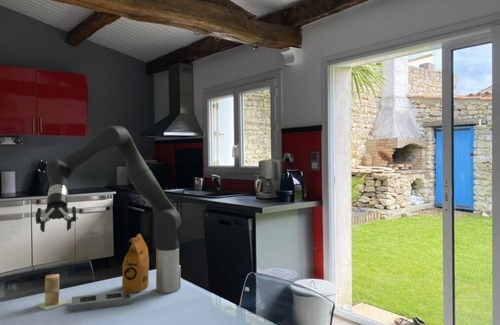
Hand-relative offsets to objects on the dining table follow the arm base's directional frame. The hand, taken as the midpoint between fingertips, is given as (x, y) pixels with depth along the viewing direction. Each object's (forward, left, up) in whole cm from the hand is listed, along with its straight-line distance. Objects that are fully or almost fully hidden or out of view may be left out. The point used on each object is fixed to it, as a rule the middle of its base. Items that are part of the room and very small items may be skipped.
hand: (55, 230), depth 149 cm
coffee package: (-27, +14, -27) cm, 40 cm away
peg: (+4, +5, -26) cm, 27 cm away
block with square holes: (-8, +19, -27) cm, 34 cm away
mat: (+4, +5, -27) cm, 27 cm away
